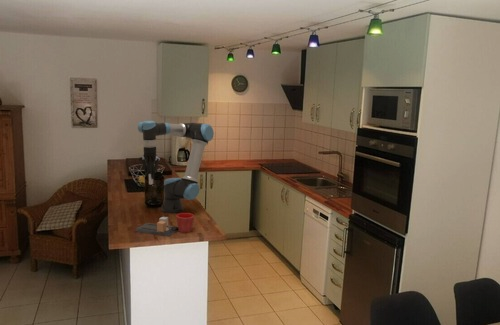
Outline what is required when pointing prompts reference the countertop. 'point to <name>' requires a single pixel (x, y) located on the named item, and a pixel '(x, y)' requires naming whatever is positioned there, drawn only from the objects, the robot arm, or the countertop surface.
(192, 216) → the flower pot
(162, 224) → the fader
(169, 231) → the console
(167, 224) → the fader
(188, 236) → the countertop surface
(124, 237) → the countertop surface
